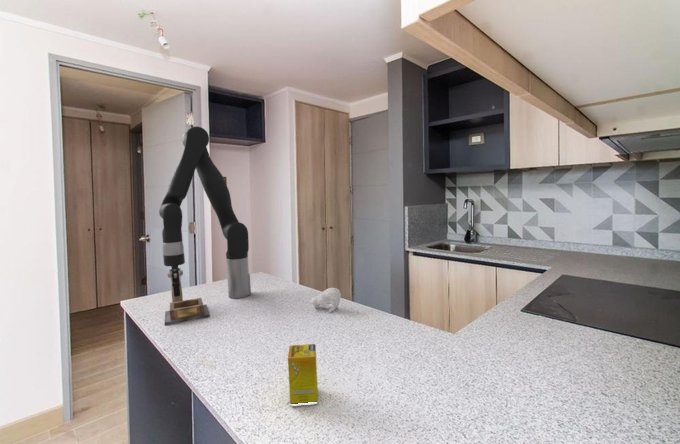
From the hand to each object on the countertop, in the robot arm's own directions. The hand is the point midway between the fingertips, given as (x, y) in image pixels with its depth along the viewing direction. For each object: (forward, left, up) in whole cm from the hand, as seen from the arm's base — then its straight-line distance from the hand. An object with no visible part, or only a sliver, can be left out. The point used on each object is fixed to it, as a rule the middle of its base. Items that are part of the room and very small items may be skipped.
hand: (177, 294), depth 133 cm
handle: (0, 0, -6) cm, 6 cm away
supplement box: (-24, +81, -6) cm, 85 cm away
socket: (-3, +11, -6) cm, 13 cm away
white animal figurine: (-51, +33, -6) cm, 61 cm away
